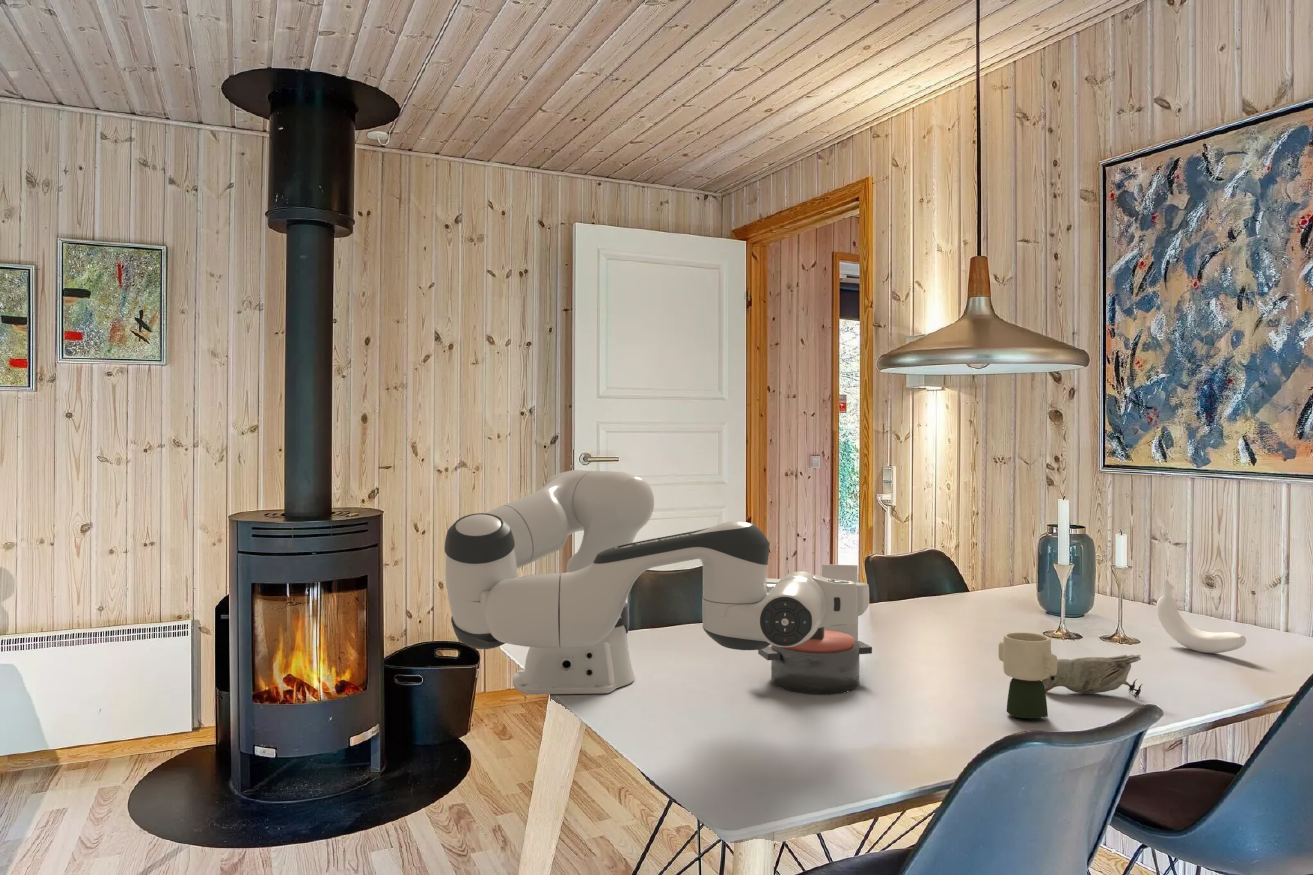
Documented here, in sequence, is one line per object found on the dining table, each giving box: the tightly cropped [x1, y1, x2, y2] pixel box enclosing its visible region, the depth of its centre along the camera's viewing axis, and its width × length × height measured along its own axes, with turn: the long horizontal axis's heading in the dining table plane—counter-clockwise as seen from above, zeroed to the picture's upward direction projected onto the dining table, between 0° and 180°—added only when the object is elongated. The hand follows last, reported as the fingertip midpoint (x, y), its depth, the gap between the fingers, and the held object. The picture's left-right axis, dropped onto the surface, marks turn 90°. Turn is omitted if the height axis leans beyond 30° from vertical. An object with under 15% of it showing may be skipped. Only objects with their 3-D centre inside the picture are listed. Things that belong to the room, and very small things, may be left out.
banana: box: [1156, 577, 1247, 654], centre depth 185 cm, size 5×19×15 cm, turn 28°
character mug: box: [998, 631, 1058, 721], centre depth 143 cm, size 11×7×13 cm, turn 29°
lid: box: [782, 627, 854, 653], centre depth 163 cm, size 14×14×12 cm
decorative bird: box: [1041, 654, 1143, 700], centre depth 155 cm, size 5×16×8 cm, turn 80°
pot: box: [757, 640, 873, 696], centre depth 163 cm, size 20×16×7 cm
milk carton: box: [821, 563, 859, 641], centre depth 181 cm, size 7×7×19 cm
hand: (810, 585), depth 152 cm, fingers open, 8 cm apart
